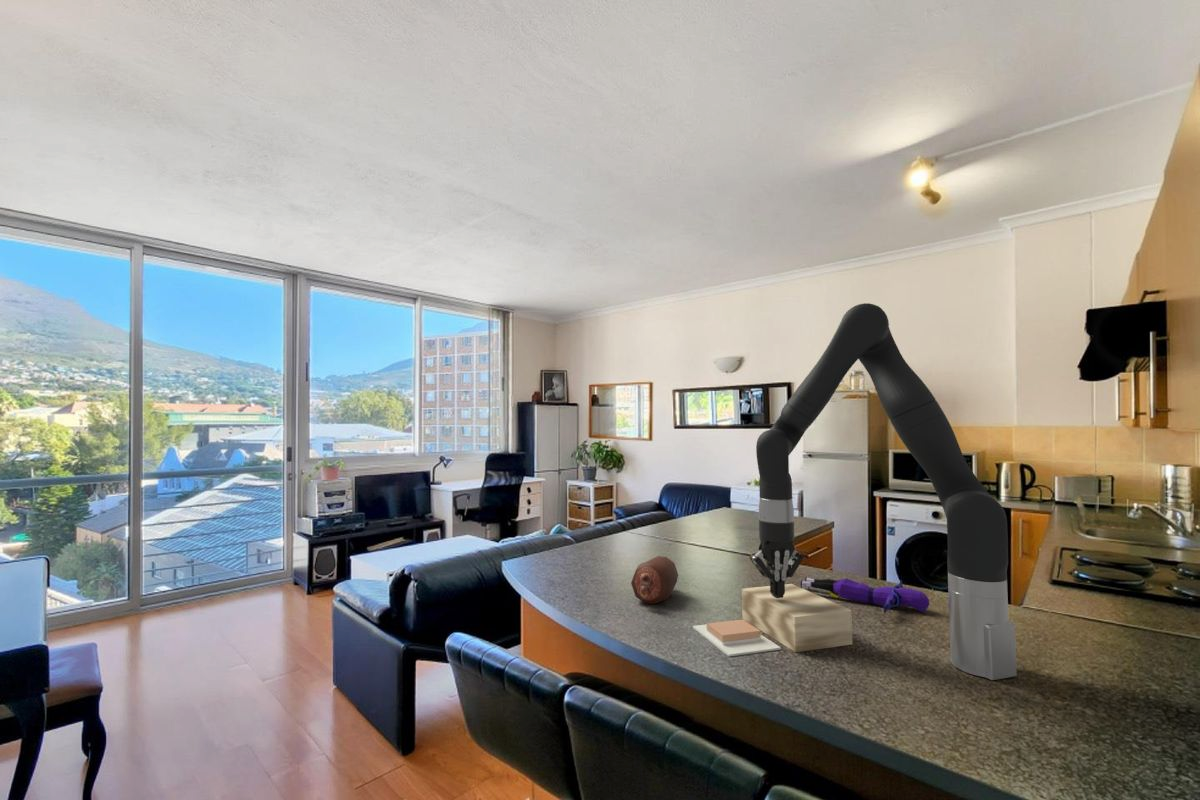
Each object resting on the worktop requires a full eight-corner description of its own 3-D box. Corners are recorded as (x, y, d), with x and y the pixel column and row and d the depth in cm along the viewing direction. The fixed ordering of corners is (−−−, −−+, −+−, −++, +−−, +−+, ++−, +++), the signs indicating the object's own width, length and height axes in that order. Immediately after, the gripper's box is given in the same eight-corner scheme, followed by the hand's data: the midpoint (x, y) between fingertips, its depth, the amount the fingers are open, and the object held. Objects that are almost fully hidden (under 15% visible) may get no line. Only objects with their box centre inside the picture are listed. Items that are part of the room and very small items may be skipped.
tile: (722, 635, 110) (722, 645, 110) (760, 630, 113) (760, 640, 112) (706, 623, 117) (706, 632, 117) (742, 619, 119) (742, 628, 119)
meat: (647, 586, 153) (647, 550, 154) (686, 591, 148) (686, 554, 149) (622, 606, 135) (622, 565, 136) (665, 612, 130) (665, 570, 131)
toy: (788, 606, 137) (923, 631, 119) (787, 585, 137) (922, 606, 119) (817, 582, 159) (935, 600, 141) (816, 563, 159) (934, 579, 141)
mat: (780, 649, 109) (780, 647, 109) (728, 656, 105) (728, 654, 105) (739, 622, 124) (739, 620, 124) (692, 627, 121) (692, 625, 121)
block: (852, 644, 111) (851, 610, 112) (795, 652, 107) (794, 617, 108) (792, 612, 130) (792, 583, 131) (742, 618, 127) (741, 588, 127)
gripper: (759, 522, 114) (761, 605, 113) (812, 519, 117) (814, 599, 116) (741, 517, 121) (742, 594, 120) (791, 514, 125) (792, 589, 124)
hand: (777, 596), depth 118 cm, fingers closed
